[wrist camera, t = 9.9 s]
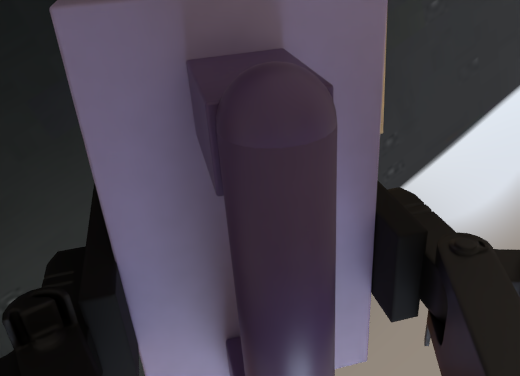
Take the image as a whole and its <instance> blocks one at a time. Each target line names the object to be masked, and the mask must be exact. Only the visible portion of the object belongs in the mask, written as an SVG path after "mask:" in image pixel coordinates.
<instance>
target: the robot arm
mask: <svg viewBox="0 0 520 376" xmlns="http://www.w3.org/2000/svg"><path fill="white" fill-rule="evenodd" d="M371 293H372V294H373V296H374V297H375V299H376V300H377V301H378V303H379V305H380V306H381V308H382V309H383V311H384V312H385V314H386V315H387V317H388V318H389V319H390V321H391V322H395V321H400V320H404V319H408V318H412V317H417V316H418V310H419V301H420V299H421V301H422V302H423V303H424V304H425V306H426V307H427V308H428V317H427V325H426V333H425V346H429V342H430V338H431V339H432V343H433V346H434V350H435V354H436V357H437V361H438V364H439V368H440V371H441V375H442V376H520V250H498V249H493V247H492V246H491V245H490V244H489V243H488V242H487V241H486V240H484V239H482V238H480V237H478V236H475V235H472V234H468V233H456V232H455V231H454V230H453V229H452V228H451V227H450V226H449V225H447V224H446V223H445V222H444V221H443V220H442V219H441V218H440V217H439V216H438V215H437V214H435V213H434V212H432V211H431V209H430V208H429V207H428V206H426V205H424V202H422V201H421V200H420V199H419V198H418V197H417V196H416V195H415V194H413V193H411V192H409V191H407V190H404V189H402V188H400V187H399V188H394V189H388V190H387V189H386V188H385V187H384V186H383V185H382V184H381V183H380V182H379V181H378V180H377V197H376V214H375V232H374V250H373V267H372V285H371ZM2 322H3V325H4V327H5V329H6V332H7V334H8V336H9V339H10V341H11V343H12V345H13V348H14V350H13V351H12V352H11V353H9V354H8V355H6V356H4V357H2V358H0V376H139V352H138V343H137V339H136V335H135V331H134V327H133V324H132V320H131V316H130V312H129V308H128V304H127V301H126V297H125V293H124V289H123V285H122V281H121V278H120V274H119V270H118V266H117V262H116V261H115V258H114V255H113V251H112V247H111V243H110V239H109V236H108V232H107V228H106V224H105V220H104V216H103V213H102V209H101V205H100V201H99V197H98V194H97V190H96V186H95V183H94V190H93V198H92V205H91V212H90V220H89V227H88V234H87V242H86V247H80V248H75V249H69V250H64V251H59V252H57V253H56V254H55V256H54V257H53V258H52V259H51V260H50V262H49V263H48V264H47V267H46V271H45V275H44V280H43V284H42V288H39V289H35V290H31V291H29V292H27V293H25V294H23V295H21V296H19V297H18V298H17V299H15V300H14V301H13V302H12V303H10V304H9V305H8V307H7V308H6V310H5V311H4V313H3V318H2Z"/></svg>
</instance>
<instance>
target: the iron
mask: <svg viewBox="0 0 520 376" xmlns="http://www.w3.org/2000/svg"><path fill="white" fill-rule="evenodd" d="M387 3H388V0H57V1H56V2H55V3H54V4H53V5H52V6H51V7H50V14H51V18H52V22H53V26H54V30H55V33H56V37H57V41H58V45H59V49H60V52H61V56H62V60H63V64H64V68H65V72H66V75H67V79H68V83H69V87H70V91H71V94H72V98H73V102H74V106H75V110H76V113H77V117H78V121H79V125H80V129H81V133H82V136H83V140H84V144H85V148H86V152H87V155H88V159H89V163H90V167H91V171H92V175H93V178H94V182H95V186H96V190H97V194H98V197H99V201H100V205H101V209H102V213H103V216H104V220H105V224H106V228H107V232H108V236H109V239H110V243H111V247H112V251H113V255H114V258H115V261H116V262H117V266H118V270H119V274H120V278H121V281H122V285H123V289H124V293H125V297H126V301H127V304H128V308H129V312H130V316H131V320H132V324H133V327H134V331H135V335H136V339H137V343H138V350H139V354H140V358H141V361H142V365H143V369H144V373H145V376H334V375H335V374H334V373H335V369H337V368H341V367H345V366H349V365H353V364H357V363H362V362H366V361H367V355H368V337H369V319H370V302H371V285H372V267H373V250H374V232H375V214H376V197H377V179H378V162H379V144H380V126H381V109H382V91H383V74H384V56H385V38H386V21H387Z"/></svg>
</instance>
